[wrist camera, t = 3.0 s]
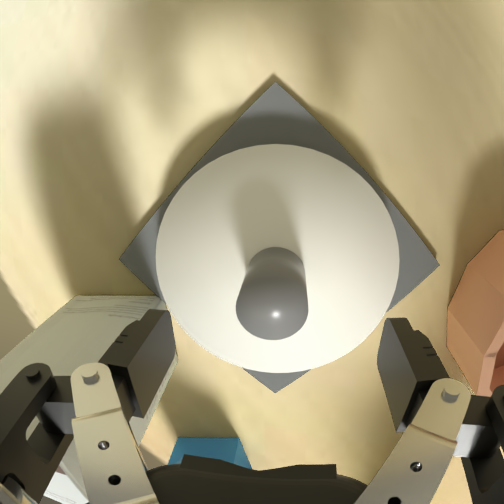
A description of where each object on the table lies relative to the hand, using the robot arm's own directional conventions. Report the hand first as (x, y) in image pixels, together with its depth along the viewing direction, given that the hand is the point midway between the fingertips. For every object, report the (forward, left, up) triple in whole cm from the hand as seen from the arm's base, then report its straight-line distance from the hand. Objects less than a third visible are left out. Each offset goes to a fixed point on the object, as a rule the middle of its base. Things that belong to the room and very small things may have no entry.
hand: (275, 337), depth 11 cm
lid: (0, 0, -8) cm, 8 cm away
